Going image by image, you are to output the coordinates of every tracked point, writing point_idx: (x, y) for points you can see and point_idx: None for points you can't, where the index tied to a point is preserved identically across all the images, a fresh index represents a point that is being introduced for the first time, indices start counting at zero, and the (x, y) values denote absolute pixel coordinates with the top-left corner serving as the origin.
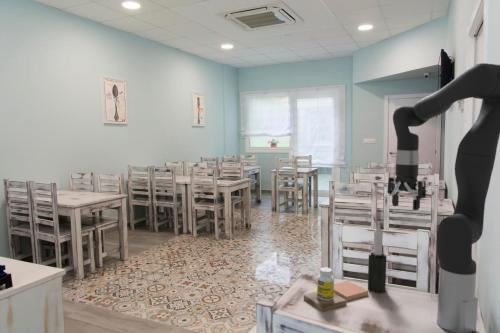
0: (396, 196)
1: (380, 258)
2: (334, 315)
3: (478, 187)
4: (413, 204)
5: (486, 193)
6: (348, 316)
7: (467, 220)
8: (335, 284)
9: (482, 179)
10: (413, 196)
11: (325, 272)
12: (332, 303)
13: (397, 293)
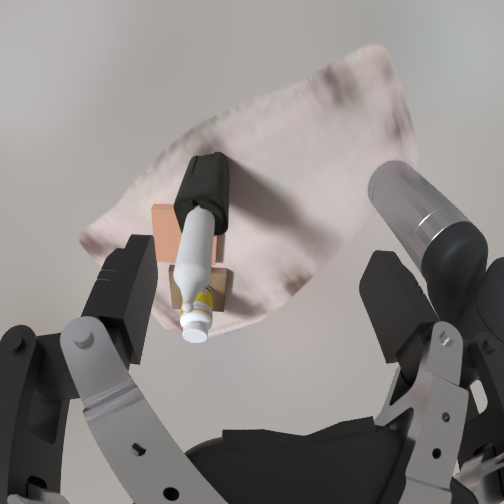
0: (132, 342)
1: (225, 230)
2: (243, 301)
3: None
4: (378, 326)
5: None
6: (258, 289)
7: None
8: (157, 244)
9: None
10: (399, 392)
11: (203, 340)
12: (222, 296)
13: (253, 143)
